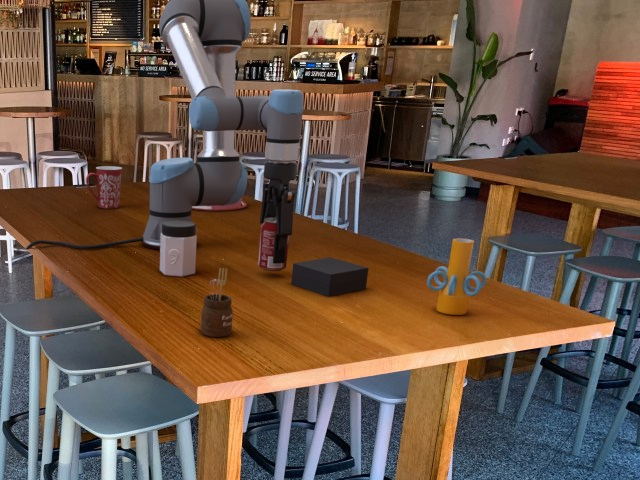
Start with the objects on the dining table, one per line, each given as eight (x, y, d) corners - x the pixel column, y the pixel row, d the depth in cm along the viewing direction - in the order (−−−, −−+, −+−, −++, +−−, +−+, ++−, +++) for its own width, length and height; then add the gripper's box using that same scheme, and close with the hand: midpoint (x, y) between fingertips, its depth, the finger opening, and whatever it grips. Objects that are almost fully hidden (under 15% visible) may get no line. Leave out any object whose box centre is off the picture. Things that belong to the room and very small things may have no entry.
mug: (118, 204, 283) (118, 165, 278) (124, 208, 275) (124, 169, 270) (84, 205, 281) (83, 166, 276) (88, 210, 273) (88, 169, 267)
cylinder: (472, 323, 158) (485, 249, 153) (418, 314, 164) (430, 242, 158) (483, 308, 168) (496, 238, 162) (432, 300, 173) (443, 232, 167)
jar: (155, 274, 192) (156, 225, 187) (164, 267, 199) (165, 219, 194) (191, 278, 189) (193, 228, 185) (198, 270, 197) (200, 221, 192)
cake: (218, 197, 300) (219, 168, 296) (261, 207, 280) (263, 176, 276) (163, 202, 288) (164, 172, 284) (204, 213, 268) (206, 181, 264)
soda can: (285, 273, 188) (290, 223, 184) (257, 271, 190) (261, 221, 185) (286, 266, 195) (290, 217, 190) (258, 264, 196) (262, 216, 191)
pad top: (329, 285, 175) (330, 274, 174) (291, 273, 184) (292, 263, 183) (367, 278, 181) (368, 267, 180) (329, 267, 190) (330, 257, 189)
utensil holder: (196, 335, 150) (199, 274, 145) (205, 326, 155) (208, 266, 151) (227, 339, 148) (230, 277, 143) (235, 329, 153) (238, 269, 149)
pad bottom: (328, 296, 176) (329, 285, 175) (291, 284, 185) (291, 273, 184) (366, 289, 182) (367, 278, 181) (327, 277, 191) (329, 267, 190)
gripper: (314, 167, 174) (303, 268, 183) (280, 155, 192) (272, 248, 201) (282, 167, 172) (273, 270, 182) (250, 155, 190) (244, 249, 199)
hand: (272, 258), depth 191 cm, fingers closed on soda can, 7 cm apart
